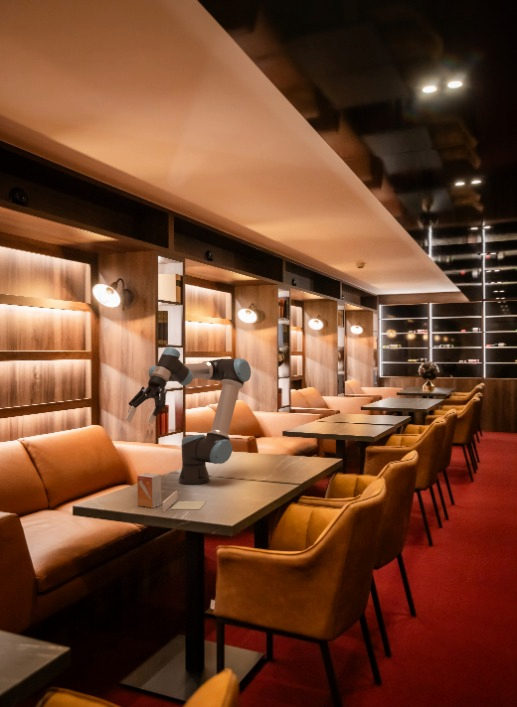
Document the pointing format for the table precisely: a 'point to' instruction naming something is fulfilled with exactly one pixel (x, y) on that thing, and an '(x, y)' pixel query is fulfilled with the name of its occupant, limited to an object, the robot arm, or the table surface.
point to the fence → (170, 501)
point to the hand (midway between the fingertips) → (138, 421)
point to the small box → (149, 490)
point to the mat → (188, 505)
